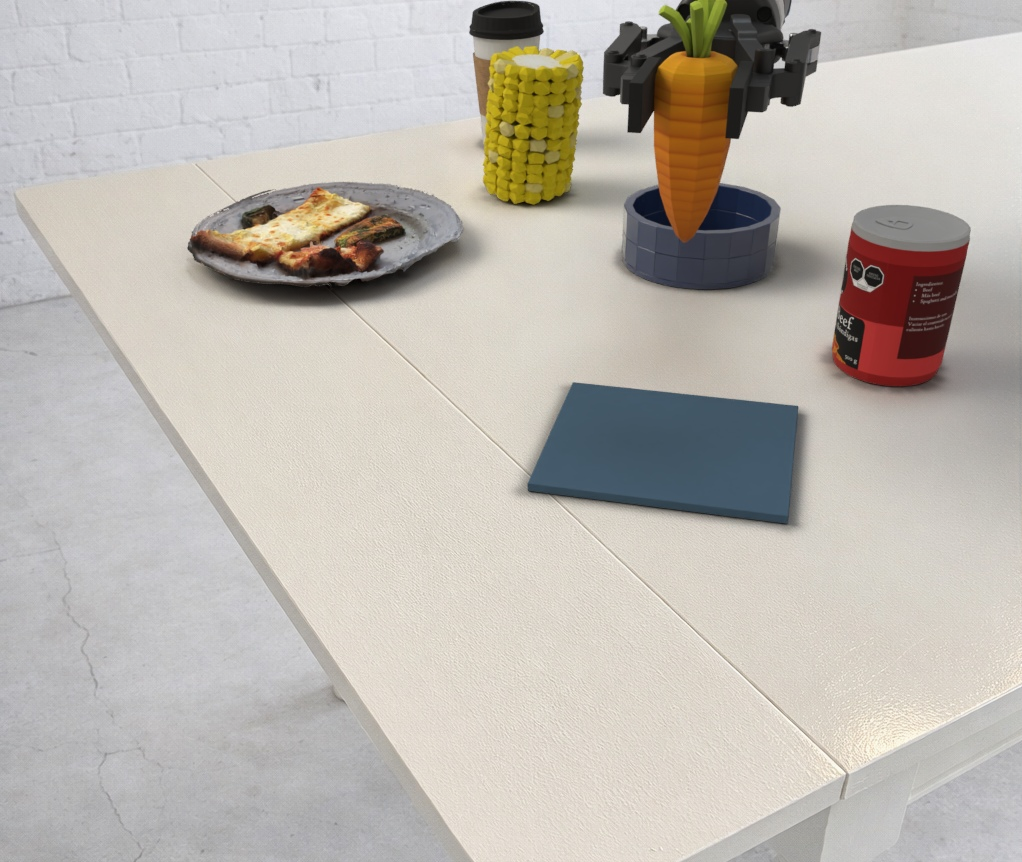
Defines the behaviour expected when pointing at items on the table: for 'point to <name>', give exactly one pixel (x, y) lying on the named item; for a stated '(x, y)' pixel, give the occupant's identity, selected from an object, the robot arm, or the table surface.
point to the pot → (702, 240)
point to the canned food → (899, 293)
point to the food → (532, 123)
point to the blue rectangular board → (671, 452)
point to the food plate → (324, 233)
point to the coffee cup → (501, 39)
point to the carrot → (692, 117)
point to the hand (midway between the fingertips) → (684, 110)
